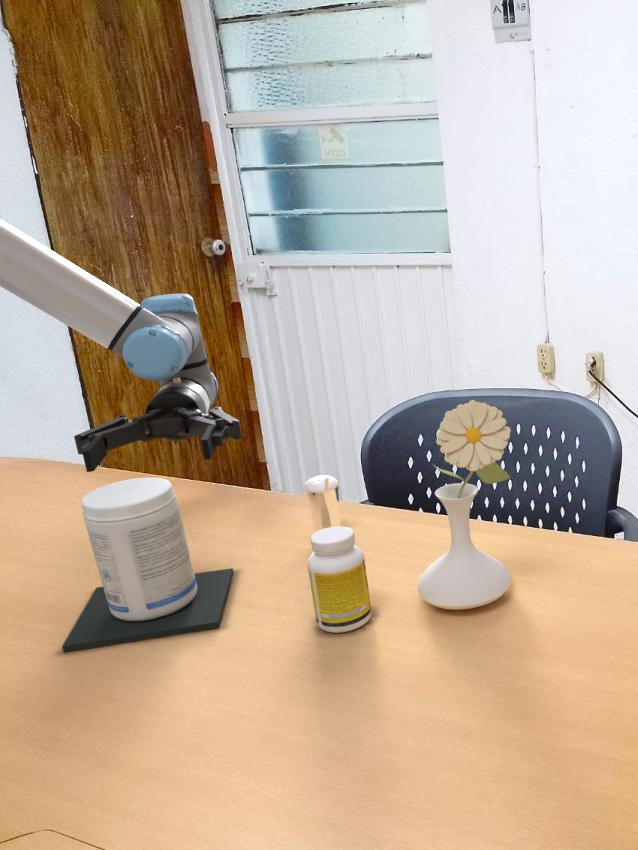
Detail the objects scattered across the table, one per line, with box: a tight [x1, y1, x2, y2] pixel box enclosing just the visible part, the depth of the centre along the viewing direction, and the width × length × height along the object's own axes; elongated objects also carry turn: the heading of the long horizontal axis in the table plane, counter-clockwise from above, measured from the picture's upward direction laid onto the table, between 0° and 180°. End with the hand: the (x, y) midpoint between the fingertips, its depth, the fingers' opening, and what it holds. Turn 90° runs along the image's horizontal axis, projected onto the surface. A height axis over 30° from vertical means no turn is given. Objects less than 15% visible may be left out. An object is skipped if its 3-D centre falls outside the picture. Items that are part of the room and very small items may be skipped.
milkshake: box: [303, 474, 341, 533], centre depth 116 cm, size 5×5×10 cm
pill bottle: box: [307, 525, 372, 634], centre depth 95 cm, size 6×6×11 cm
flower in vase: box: [416, 399, 512, 610], centre depth 97 cm, size 13×11×25 cm
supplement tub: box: [80, 476, 197, 621], centre depth 97 cm, size 10×10×15 cm
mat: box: [61, 567, 234, 653], centre depth 100 cm, size 16×14×1 cm
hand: (147, 455), depth 105 cm, fingers open, 13 cm apart
